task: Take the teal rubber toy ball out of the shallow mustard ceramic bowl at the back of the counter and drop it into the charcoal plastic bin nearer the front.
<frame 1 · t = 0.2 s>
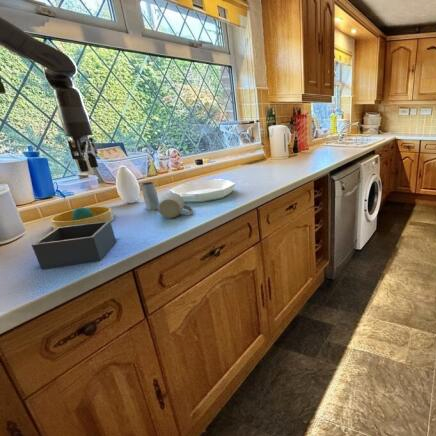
hand: (90, 169, 106), 17 cm above the countertop, tool pointing down, fingers open, 8 cm apart
sauce bottle: (132, 202, 127), on the countertop
grey cylinder: (153, 209, 117), on the countertop
ceramic mug: (177, 215, 109), on the countertop
toy ball: (85, 223, 103), resting on bowl
bin: (82, 254, 80), on the countertop
white oval serving dish: (204, 196, 134), on the countertop
bowl: (85, 224, 103), on the countertop
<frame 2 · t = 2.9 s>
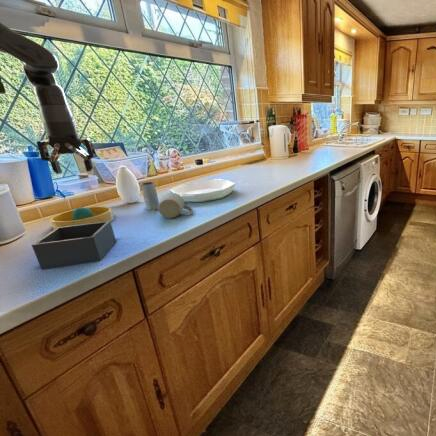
hand: (74, 172, 99), 18 cm above the countertop, tool pointing down, fingers open, 8 cm apart
nothing on the countertop moved.
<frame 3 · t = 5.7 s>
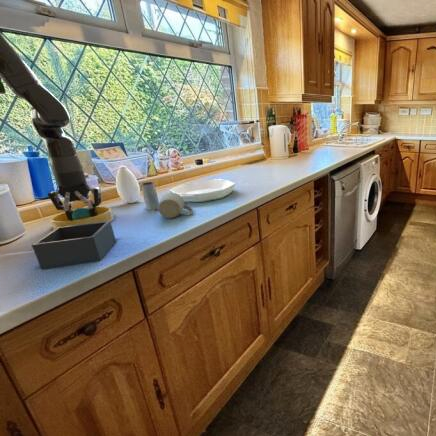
hand: (84, 219, 102), 2 cm above the countertop, tool pointing down, fingers closed on toy ball, 5 cm apart
toy ball: (85, 223, 103), resting on bowl, touching gripper
everything else where it was.
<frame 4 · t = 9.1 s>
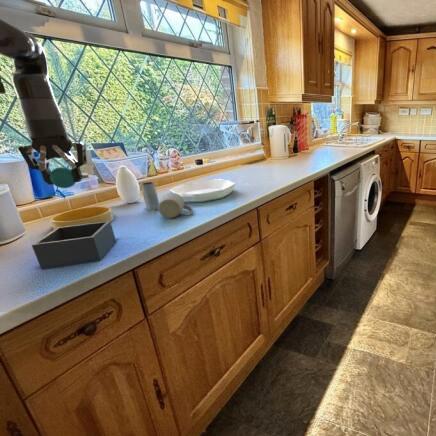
hand: (65, 182, 83), 18 cm above the countertop, tool pointing down, fingers closed on toy ball, 5 cm apart
toy ball: (66, 187, 83), point 16 cm above the countertop, touching gripper
everything else where it was.
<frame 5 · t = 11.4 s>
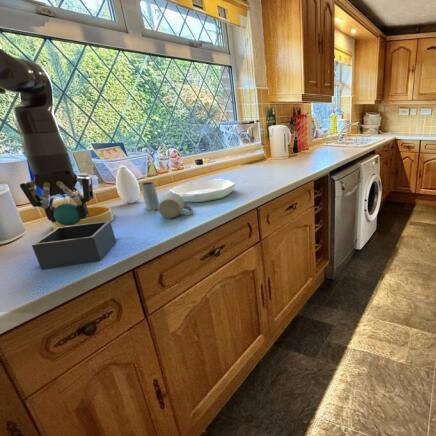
hand: (70, 219, 77), 10 cm above the countertop, tool pointing down, fingers closed on toy ball, 5 cm apart
toy ball: (71, 224, 77), point 9 cm above the countertop, touching gripper
everything else where it was.
when the fingers open (6 cm above the countertop, at t = 12.9 s): toy ball drops 4 cm, resting on bin.
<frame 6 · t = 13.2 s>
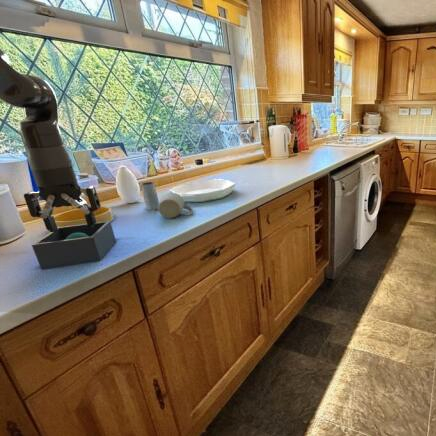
hand: (73, 228, 78), 7 cm above the countertop, tool pointing down, fingers open, 7 cm apart
toy ball: (81, 252, 80), resting on bin
everything else where it was.
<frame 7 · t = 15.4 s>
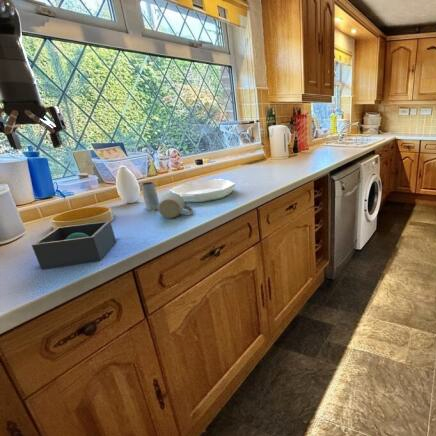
hand: (38, 148, 80), 27 cm above the countertop, tool pointing down, fingers open, 8 cm apart
nothing on the countertop moved.
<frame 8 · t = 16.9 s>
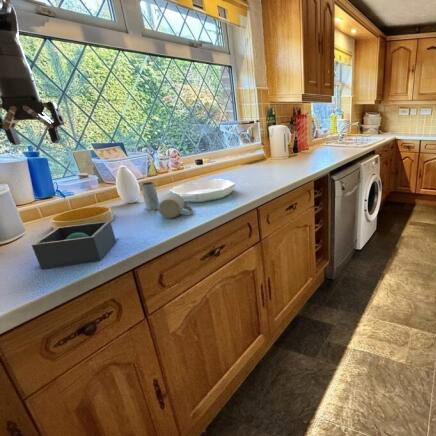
hand: (36, 143, 81), 28 cm above the countertop, tool pointing down, fingers open, 8 cm apart
nothing on the countertop moved.
at the end: toy ball inside the target area in the bin (0.0 cm from its centre), point 0.5 cm above the bin's base; the gripper is holding nothing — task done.
